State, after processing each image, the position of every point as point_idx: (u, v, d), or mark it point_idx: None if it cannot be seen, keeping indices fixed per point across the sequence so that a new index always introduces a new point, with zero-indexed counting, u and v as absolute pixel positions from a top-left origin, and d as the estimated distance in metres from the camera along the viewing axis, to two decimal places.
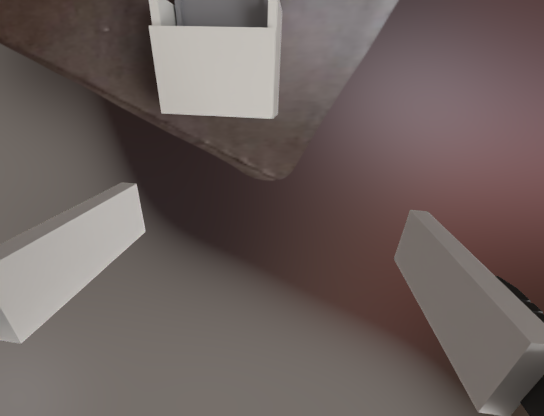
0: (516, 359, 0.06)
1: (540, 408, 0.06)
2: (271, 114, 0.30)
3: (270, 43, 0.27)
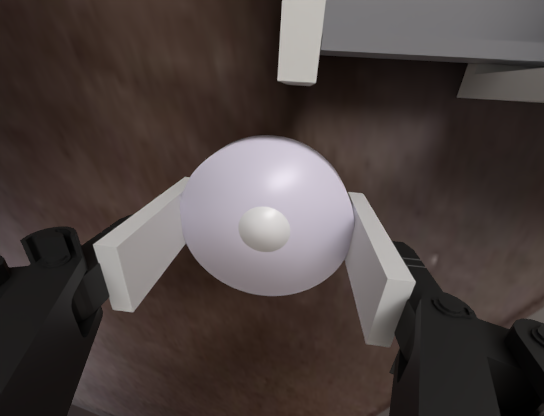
0: (382, 294, 0.07)
1: (401, 338, 0.07)
2: None
3: None
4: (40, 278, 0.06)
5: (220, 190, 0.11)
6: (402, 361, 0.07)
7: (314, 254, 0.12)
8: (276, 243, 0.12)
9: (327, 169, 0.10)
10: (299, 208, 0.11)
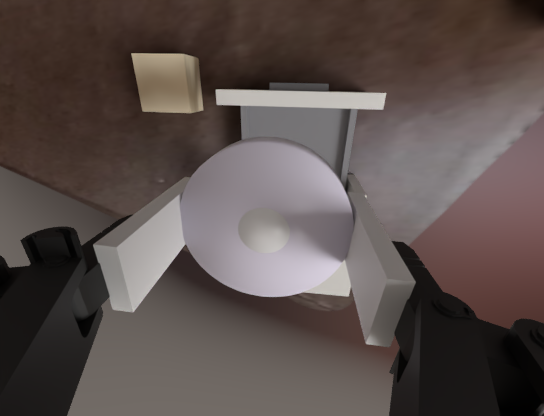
0: (382, 294, 0.07)
1: (401, 338, 0.07)
2: (347, 293, 0.28)
3: None
4: (40, 278, 0.06)
5: (220, 191, 0.11)
6: (402, 361, 0.07)
7: (313, 255, 0.12)
8: (276, 244, 0.12)
9: (326, 171, 0.10)
10: (299, 210, 0.11)
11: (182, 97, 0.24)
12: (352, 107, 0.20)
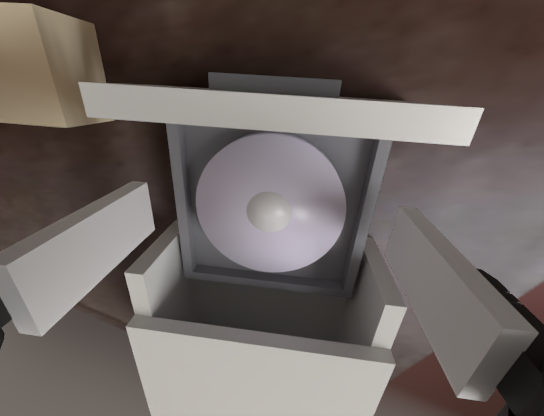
0: (490, 345, 0.06)
1: (513, 393, 0.06)
2: None
3: (378, 380, 0.13)
4: None
5: (231, 177, 0.13)
6: None
7: (312, 233, 0.13)
8: (279, 224, 0.13)
9: (323, 158, 0.12)
10: (299, 193, 0.13)
11: (46, 96, 0.12)
12: (396, 137, 0.09)
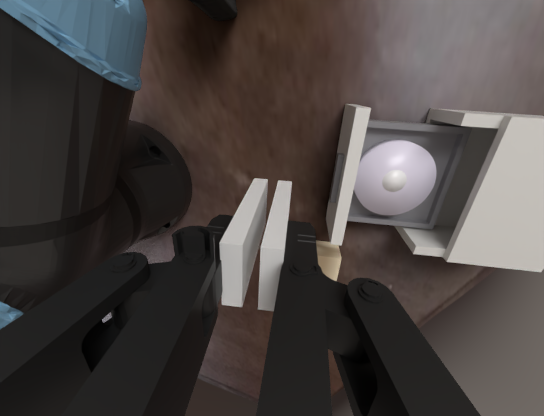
0: (261, 262, 0.08)
1: None
2: None
3: (527, 124, 0.19)
4: (182, 273, 0.07)
5: (372, 196, 0.27)
6: None
7: (411, 158, 0.25)
8: (402, 176, 0.25)
9: (369, 155, 0.25)
10: (385, 165, 0.25)
11: (329, 261, 0.31)
12: (363, 137, 0.22)
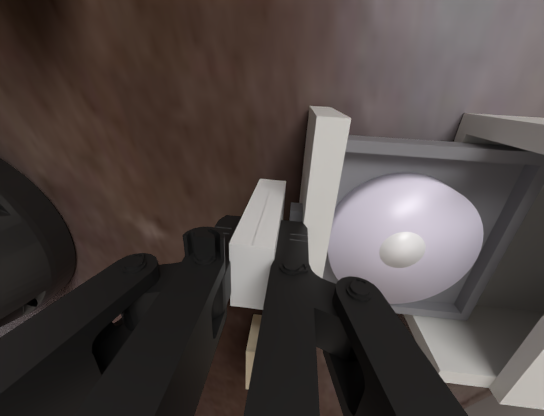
0: (252, 261, 0.08)
1: None
2: None
3: None
4: (192, 274, 0.07)
5: (362, 275, 0.15)
6: None
7: (436, 213, 0.13)
8: (417, 242, 0.13)
9: (354, 206, 0.13)
10: (385, 224, 0.13)
11: None
12: (337, 183, 0.10)
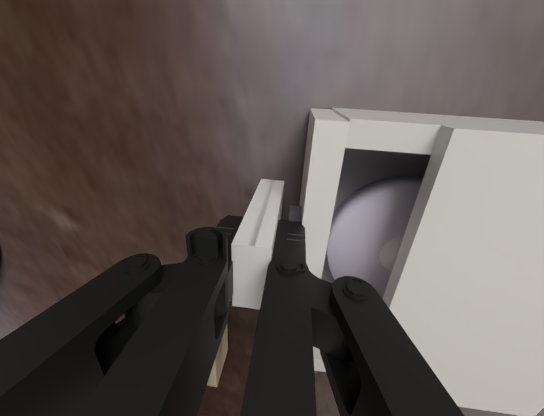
0: (249, 261, 0.08)
1: None
2: None
3: (494, 147, 0.08)
4: (195, 275, 0.07)
5: None
6: None
7: None
8: None
9: (353, 209, 0.13)
10: (385, 228, 0.13)
11: None
12: (335, 186, 0.10)
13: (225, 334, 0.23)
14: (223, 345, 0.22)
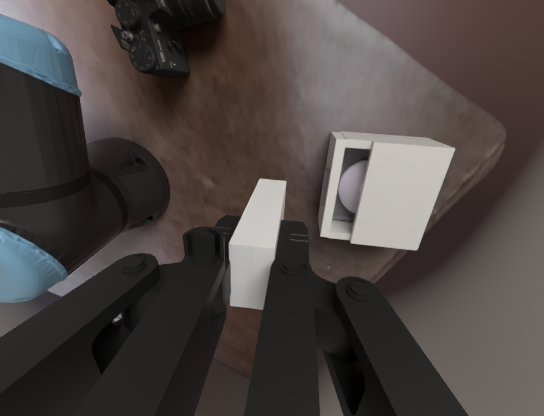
0: (252, 261, 0.08)
1: None
2: (450, 149, 0.28)
3: (385, 147, 0.29)
4: (192, 274, 0.07)
5: (352, 201, 0.36)
6: None
7: None
8: None
9: (349, 170, 0.34)
10: (361, 178, 0.34)
11: None
12: (342, 159, 0.31)
13: None
14: None
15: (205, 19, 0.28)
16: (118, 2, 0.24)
